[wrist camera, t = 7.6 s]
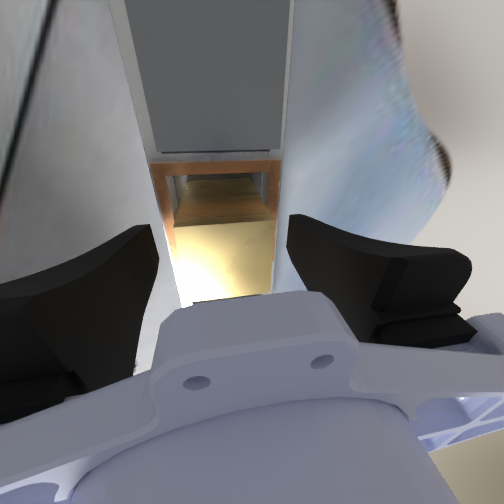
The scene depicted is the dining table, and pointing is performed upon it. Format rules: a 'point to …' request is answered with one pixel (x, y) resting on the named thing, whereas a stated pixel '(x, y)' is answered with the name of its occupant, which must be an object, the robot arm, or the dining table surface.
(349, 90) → the dining table surface
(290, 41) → the zinc tray
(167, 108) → the gunmetal nut block
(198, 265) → the golden block
